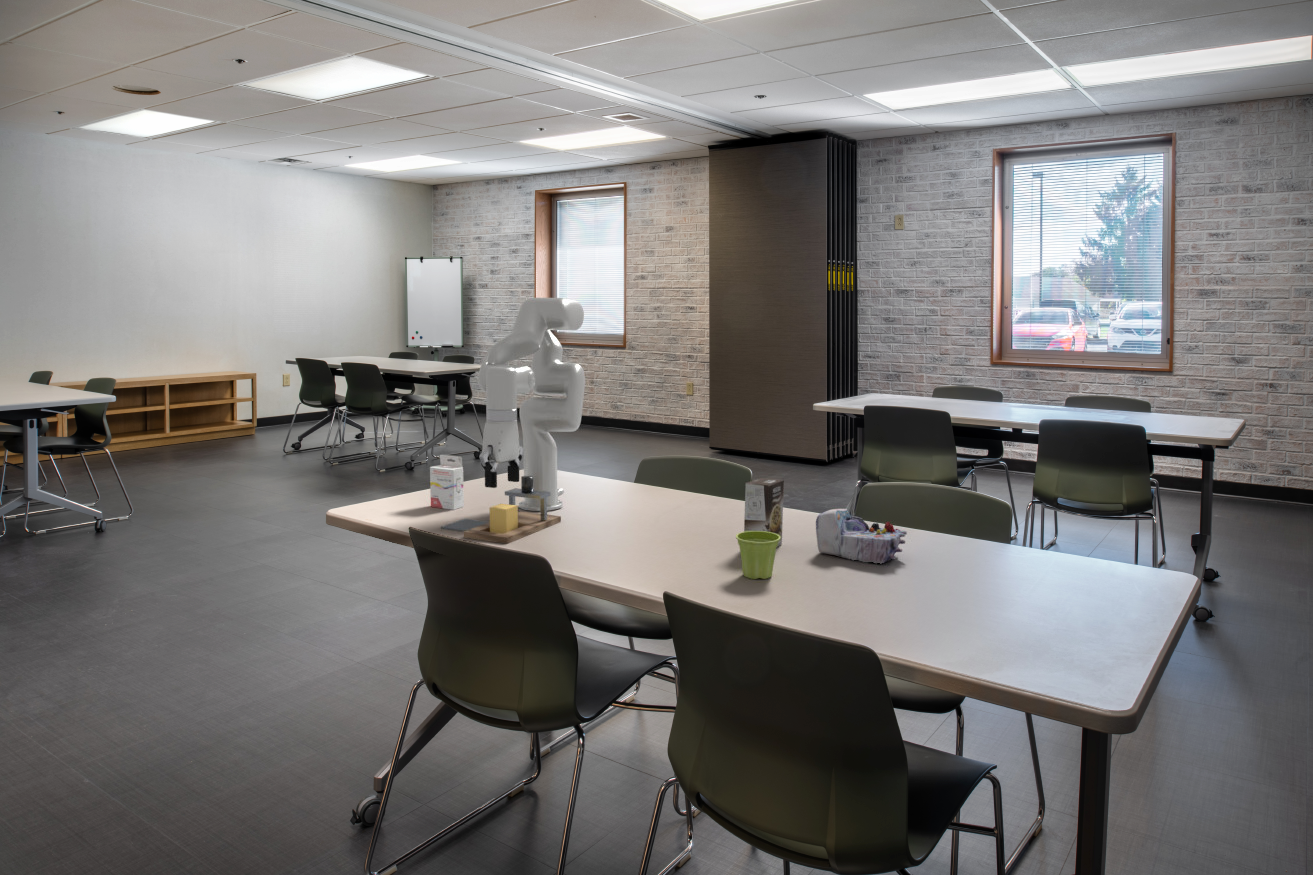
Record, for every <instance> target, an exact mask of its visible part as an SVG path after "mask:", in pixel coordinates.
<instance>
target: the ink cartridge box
mask: <svg viewBox="0 0 1313 875" xmlns="http://www.w3.org/2000/svg"><path fill="white" fill-rule="evenodd" d="M449 460H453V461H449ZM439 461H440V464H439V465H433V466H430V467H429V478H430V479H429V480H430V481H429V483H430V486H429V487H430V489H429V490H430V507H431V508H439V509H445V510H452V511H454V510H458V509H460V508H463V507H464V506H465V504H464V503H465V501H464V500H465V499H464V498H465V497H464V492H465V491H464V467H463V458H462V456H456V455H449V454H448V455H447V454H439Z"/></svg>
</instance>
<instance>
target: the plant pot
mask: <svg viewBox="0 0 1313 875" xmlns="http://www.w3.org/2000/svg"><path fill="white" fill-rule="evenodd" d="M735 538H736V539H737V542H738V543H737V544H738V546H739V551H740V559H741V560H740V561H741V569H742V574H743V576H744V577H745V578H748V579H751V580H756V579H762V580H766V579H770V578H771V577H772V575H773V571H774V565H775V558H776V552H777V545H778V541H779V540H780V538H781V537H780V536H779V535H778V534H775V533H772V532H766V531H746V532H744V531H741V532H739V533H737V534H736V535H735Z"/></svg>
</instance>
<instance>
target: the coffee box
mask: <svg viewBox="0 0 1313 875" xmlns="http://www.w3.org/2000/svg"><path fill="white" fill-rule="evenodd" d="M784 481H785V480H784V479H778V478H764V477H760V478H757V479H754V480H751V481H748V482H745V491H744V492H745V493H744V518H743V519H744V525H743V532H746V531H766V532H772V533H775V534H778V535H779V536H780V537H781V538H780V540H779V541H778V545H777V547H779V546H782V545H783V520H784V519H783V518H784V517H783V516H784V487H785V486H784ZM777 547H776V548H777Z"/></svg>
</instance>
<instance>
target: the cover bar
mask: <svg viewBox="0 0 1313 875" xmlns="http://www.w3.org/2000/svg"><path fill="white" fill-rule="evenodd" d="M520 479H521V482H520V485H521V488H518V487H517V488H515V487H514V488H512V489H508V490H505V491H504V496H508V505H516V497H518V498H524V497H525V498H534V499H540V511H539V512H540V513H539V514H541V520H547V515H548V511H547V497H548V496H551V492H546V491H537V490H534V477H533V476H524V475H522V476H521V478H520Z"/></svg>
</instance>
